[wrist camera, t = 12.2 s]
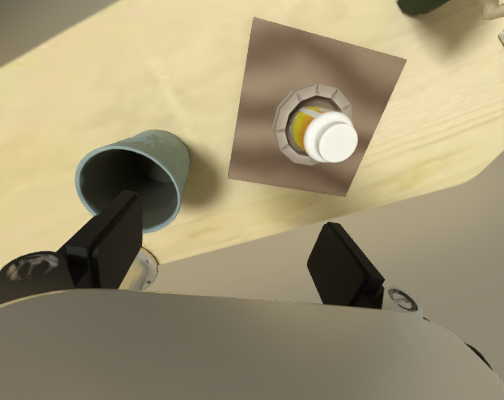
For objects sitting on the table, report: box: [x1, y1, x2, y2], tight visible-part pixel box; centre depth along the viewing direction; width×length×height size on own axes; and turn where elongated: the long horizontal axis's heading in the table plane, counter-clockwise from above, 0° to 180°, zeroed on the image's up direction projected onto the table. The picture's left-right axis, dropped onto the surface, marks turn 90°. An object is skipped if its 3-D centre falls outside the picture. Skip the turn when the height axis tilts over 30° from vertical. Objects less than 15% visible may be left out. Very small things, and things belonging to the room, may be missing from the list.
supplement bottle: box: [289, 105, 358, 163], centre depth 26 cm, size 6×6×10 cm
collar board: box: [228, 17, 407, 197], centre depth 30 cm, size 20×20×4 cm
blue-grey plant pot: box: [75, 130, 190, 234], centre depth 27 cm, size 10×10×12 cm
